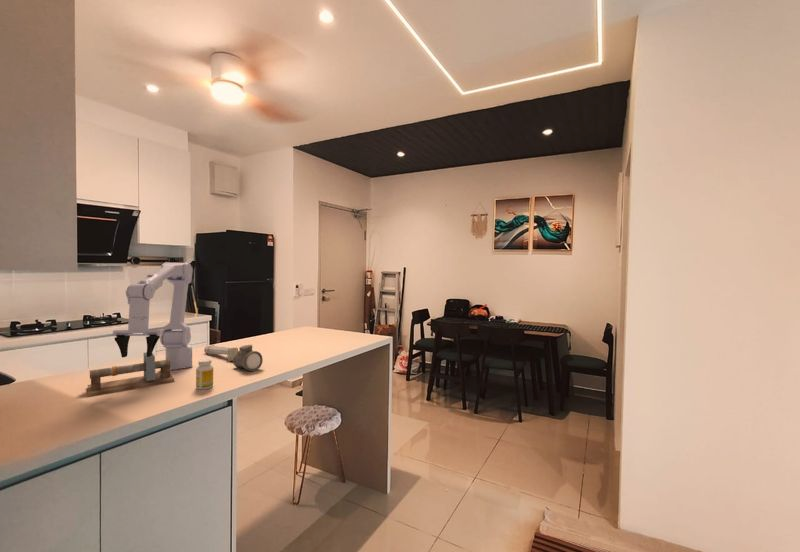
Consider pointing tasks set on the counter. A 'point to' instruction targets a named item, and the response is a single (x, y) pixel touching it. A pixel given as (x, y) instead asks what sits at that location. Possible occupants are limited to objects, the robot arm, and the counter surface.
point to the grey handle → (222, 351)
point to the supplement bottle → (204, 374)
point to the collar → (149, 367)
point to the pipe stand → (129, 383)
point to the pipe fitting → (248, 358)
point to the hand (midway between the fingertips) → (136, 356)
